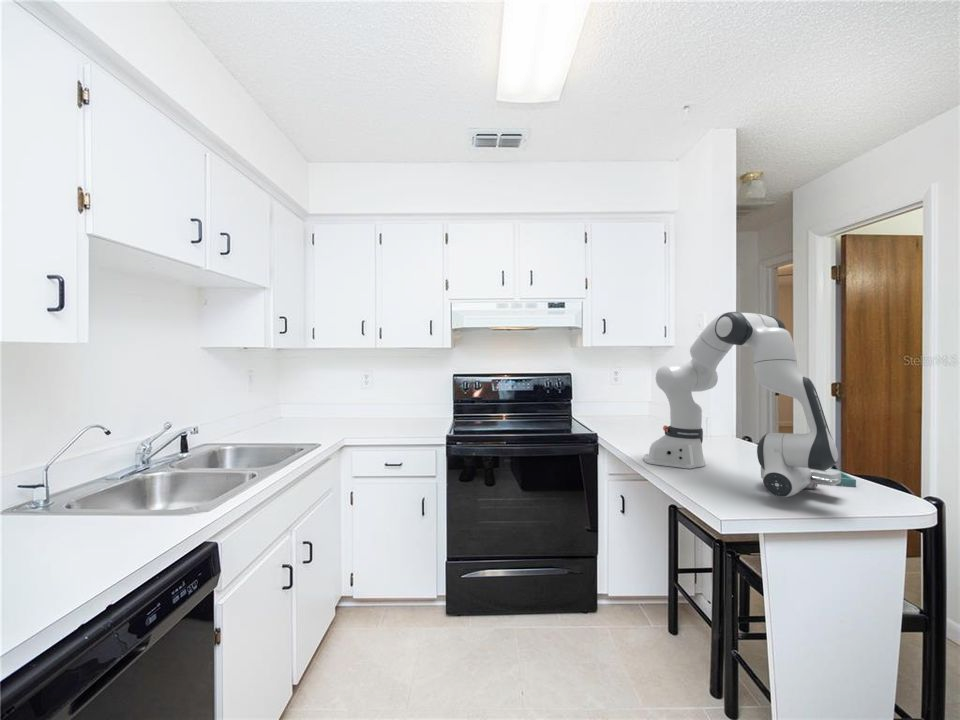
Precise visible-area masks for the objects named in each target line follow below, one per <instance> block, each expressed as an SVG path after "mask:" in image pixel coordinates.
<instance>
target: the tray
mask: <svg viewBox="0 0 960 720" xmlns="http://www.w3.org/2000/svg"><path fill="white" fill-rule="evenodd" d="M830 469H831V470H837V471H839V472H841V482H840V483H839V484H837V485H836V486H838V485H843V486H842V487H849V486H853V487H852V488H856V487H857V479H856V478H854V477H852V476H850V475H848V474H847V473H844V472H843V471H841V470H839V469H836V468H835V469H834V468H833V469H832V468H830Z"/></svg>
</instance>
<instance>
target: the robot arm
mask: <svg viewBox="0 0 960 720" xmlns="http://www.w3.org/2000/svg"><path fill="white" fill-rule="evenodd" d="M735 345H736V346H741V347H749V348H750V349H751V351H752V357H753V360H752V361H753V372H754V377H755V380H756V382H757V383H758V385H760V386H761V387H762V388H764V389H765V390H767V391H770V392H772V393H773V392H774V393H777V394H780V395H783V396H787V397H791V398H793V399H796V401H798V403H800V405H801V407H802V410H803V412H804V416H805V419H806V423H807V426H808V430H809V432H808V433H787V432H767V433H766V434H764V435H763V436H762V437H761V438H760V440H759V441H758V443H757V447H756V455H757V461H758V463H759V465H760V478H761V480H762V484H763V486H764V488H765V490H766V491H767V492H769V493H770V494H771V495H773V496H774V497H775V496H776V497H779V498H789V497H792V496H795V495H797V494H799V493H800V492H801V491H802V490H804V489H806V488H805V487H806V486H808V485H809V484H810V482H812V483H818V484H817V485H824V486H838V485H837V484H839V483H840V482H841V472H842V471H841V472H839V471H840V470H839V471H837V470H838V469H837V470H831V469H832V468H833V467H834V466H835V465H836V464H837V463H838V461H839V460H838V459H839V452H838V449H837V446H836V444H835V441H834V440H833V436H832V435H831V431H830V429H829V425H828V423H827V419H826V416H825V414H824V410H823V406H822V403H821V400H820V397H819V395H818V392H817V390H816V387H815V385H814V383H813V381H812V380H811V379H810V378H809V377H806V376H804V375H803V374H802V373H801V372H800V369H799V367H798V361H797V354H796V353H797V352H796V349H795V344H794V340H793V337H792V335H791V333H790V331H788V330H787V329H786V326H785V323H784V322H783V321H782V320H781V319H779V318H777V317H775V316H773V315H766V314H761V313H757V312H756V313H755V312H740V311H729V312H725V313H724V312H723V313H721V314H718V315H717V316H716V317H715V318H713V320H711V322H709V324H708V325H706V326H705V328H704V329H703V330H702V332H701V333H700V334H699V335H698V336H697V338H696V340H695V341H694V342H693V343H692V345H691V346H690V348H689V353H690V357H691V358H692V359H691V360H690V361H689V362H687V363H670V364H667V365H664V366H663V365H662V366H660V367H659V368H658V369H657V371H656V373H655V383H656V385H657V387H658V388H659V389H660V390H661V391H662V392H663V393H664V394H665V395H666V398H667V401H668V404H669V409H670V412H669V413H670V423H669V424H670V425H666V424H665V425H663V426H662V429H663V430H662V431H664V435H663V436H661V437H659V438H658V439H656V440H654V441H653V442H652V443H651V445H650V446H649V450H648V453H646V454H644V455H643V461H644V462H645V463H646V464H648V465H649V464H650V465H656V466H657V465H658V466H663V467H664V466H665V467H671V468H682V469H690V470H691V469H696V468H702V467H705V466H706V465H707V464H706V461H705V457H704V452H703V440H704V431H703V428H702V425H703V424H702V421H703V420H702V419H703V418H702V415H703V414H702V412H703V411H702V407H701V406H700V404H698V403H696V402H695V400H694V397H693V393H694V392H706V391H709V390H711V389H714V387H716V385H717V383H718V379H719V378H718V377H719V376H718V373H717V368H718V365H719V364H720V363H721V361H722V360H723V359H724V358H725V356H726V355H727V354H728V352H729V351H730V350H731V349H732V348H733V346H735ZM692 392H693V393H692Z"/></svg>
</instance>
